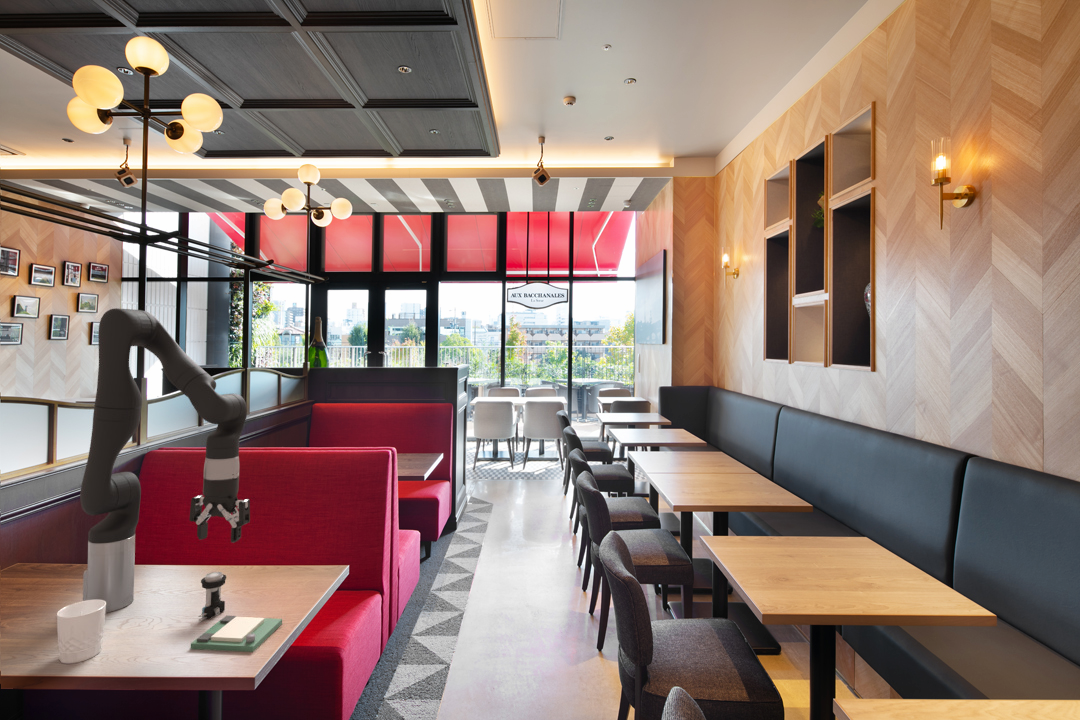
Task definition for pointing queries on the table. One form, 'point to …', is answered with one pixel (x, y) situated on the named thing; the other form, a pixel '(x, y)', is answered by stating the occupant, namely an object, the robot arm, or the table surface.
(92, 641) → the white cup
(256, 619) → the board
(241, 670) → the table surface
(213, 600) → the push button
